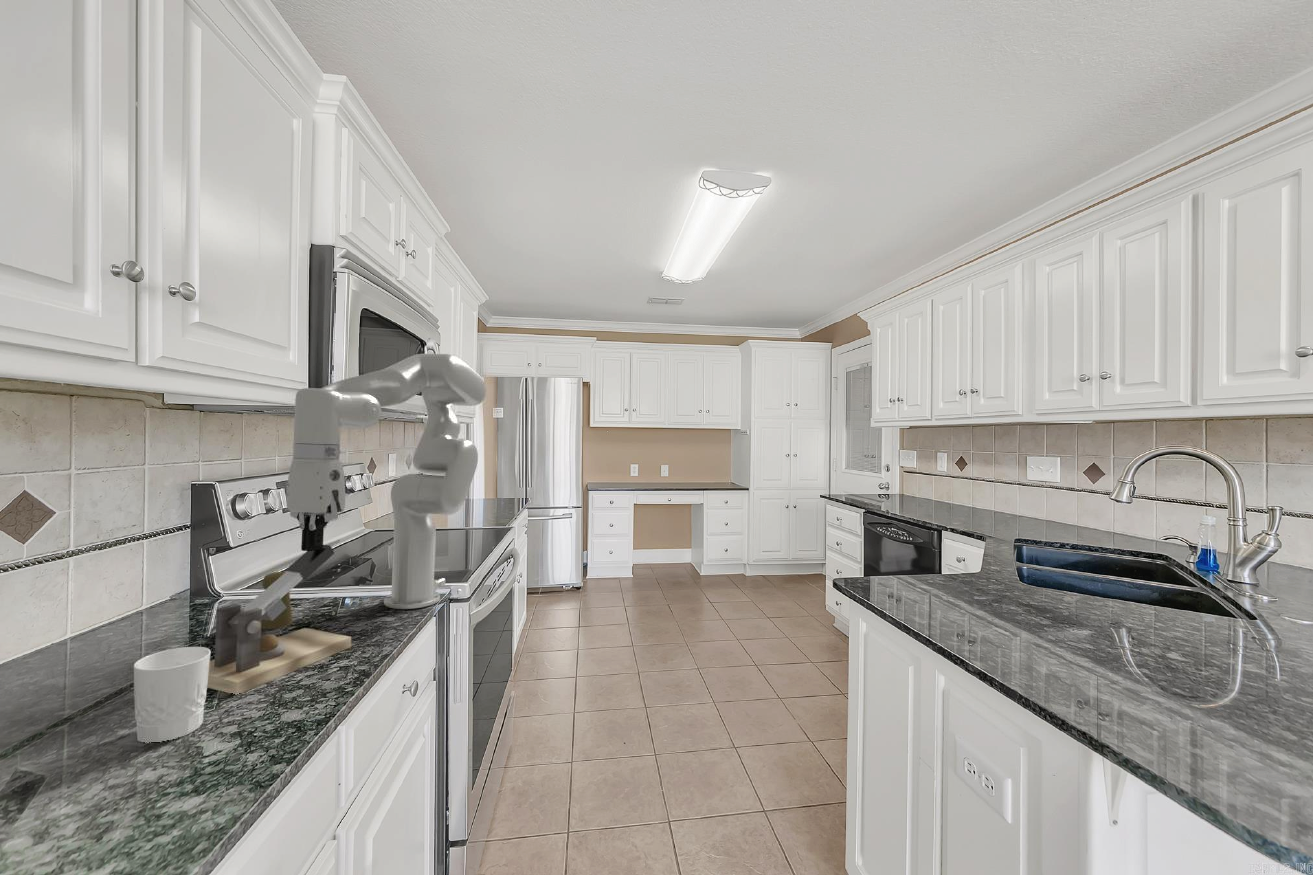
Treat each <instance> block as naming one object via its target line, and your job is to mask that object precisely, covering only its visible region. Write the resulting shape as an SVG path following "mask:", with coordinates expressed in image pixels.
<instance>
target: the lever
mask: <svg viewBox="0 0 1313 875" xmlns="http://www.w3.org/2000/svg"><path fill="white" fill-rule="evenodd" d="M334 554H335V552H334V550H333V548H332V546H331V545H329V544H323V548H322V549H320V550H315V551H310V552H309V551H305V553H303V554H302V555H301V556H300V557H299V558H297V559H296V560H295V561H294V562H293V563H292V564H290V565H289V566H288V567H287V568H285V569H286V571H284V572H285V573H284V574H283V575H282V576H281V577H280V578H278V579H277V580H276V581H275V582H274V583H273V584H271V585H270V586H269V587H268V588H267V589H266V590H265V589H264V590H263V591H262V592H261V593H260V594H259V595H258V596H256V597H255V598H254V599H253V600H252V601H250V602H249V603H248V604H246V606H244V607H243V608H241V611H240V612H239V613H241V612H245V611H248V610H252V609H255V608H259V609H262V619H265V620H270V621H273V620H274V619H275V618H276V617H277V616H278V615H279V614H280V613H281V612H283V611H284V610H285V609H286V608H287V607H286V606H285V605H284V603H283V602H282V600H281V598H282V597H283V596H284V595H286V594H287V593H288V592H289V593H290V591H292V589H294V587H296V586H297V585H298V584H299V583H300V582H301V581H302V580H306V579H308V578H309V577H310V576H311V575H312V574H313V573H314V572H316V571H317V570H318V569H319V568H320V567H321V566H322V565H324V563H326V562H327V561H328V559H330V558H331V557H332V556H334ZM228 624H229V625H230V626H231V627H232V628H234V629H237V628H238V614H236V615H235V616H234V617H233V618H232V619H230V620H229V621H228Z"/></svg>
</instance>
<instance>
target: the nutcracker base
mask: <svg viewBox="0 0 1313 875" xmlns="http://www.w3.org/2000/svg"><path fill="white" fill-rule="evenodd" d="M241 610H242V605H241V604H237V603H235V604H231V605H229V606H224V607H219V608H216V618H215V619H216V621H215V622H216V623H215V640H214V641H215V646H214V659H212V660H211V659H210V665H209V675H208V686H207V689H212V690H216V691H218V692H219V691H220V692H224V693H228V694H231V693H233V694H232V695H234V694H235V696H238V695H240V694H239V693H241V694H242V693H245V692H248V691H249V690H251V689H252V690H253V689H255V688H257V687H259V686H262V685H264V684H266V683H270V682H271V681H274V680H276V679H278V678H280V677H283V676H285V675H288V674H290V673H293V672H295V671H297V670H300V669H302V668H304V667H307V666H309V665H312V664H315V663H317V662H319V661H321V660H324V659H326V658H328V657H331V656H334V655H335V654H338V653H340V652H343V651H345V650H347V649H350V648H351V647H352V636H348V635H344V634H338V633H334V632H329V631H324V630H319V629H318V630H317V629H314V628H313V629H312V628H307V627H304V628H301V629H297V630H295V631H293V632H292V631H291V632H289V633H286V634H283V635H281V636H276V635H274V634H272V633H271V634H265V635H263V636H262V629H261V620H262V609H259V608H255V609H252V610H248V611H245V612H241V613H239V612H240V611H241ZM236 614H238V628H237V629H234V628H232V627H231V626H230V625H229V624H228V621H229V620H230V619H232V618H233V617H234V616H235V615H236ZM237 694H238V695H237Z"/></svg>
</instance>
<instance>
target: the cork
mask: <svg viewBox="0 0 1313 875" xmlns="http://www.w3.org/2000/svg"><path fill="white" fill-rule="evenodd" d="M285 572H286V571H276V572H271V573H268V574H266V575H264V577H263V579H262V588H263V589H264V590H266V589H267V588H268V587H269V586H270V585H271V584H273V583H274V582H275V581H276V580H277V579H278V578H280V577H281V576H282V575H283V574H284V573H285ZM281 600H282V602H283V603H284V605H285V606H286V607H287V608H286V609H285V610H284V611H283V612H281V613H280V614H279V615H278V616H277V617H276V618H275V619H274V620H273V621H270V620H265V619H262V620H261V630H266V629H269V630H276V629H277V628H278V629H281V628H280V627H283V628H286V627H289V626H291V625H292V624H293V622H294V621H293V613H292V605H291V594H290V591H289V592H288V593H287V594H286V595H284V596H283V597H282V598H281ZM291 623H292V624H291ZM290 624H291V625H290ZM288 625H289V626H288ZM285 626H286V627H285ZM278 629H277V630H278Z"/></svg>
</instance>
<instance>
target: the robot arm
mask: <svg viewBox="0 0 1313 875" xmlns="http://www.w3.org/2000/svg"><path fill="white" fill-rule="evenodd" d="M420 393H421V395H422V398H423V401H424V405H425V407H426V413H427V422H426V424H425V427H424V430H423V432H422V434H421V437H420V439H419V441H418V444H417V446H416V448H415V451H414V453H413V458H412V464H413V467H414V469H416V470H417V471H418V472H419V473H409V474H404V475H401V476H400V477H398V478H397V479H396V480H395V481H394V482H393V484H392V486H391V488H390V500H391V506H392V507H391V508H392V512H393V546H392V547H393V550H392V551H393V552H392V571H391V572H392V574H391V575H392V576H391V594H388V595H386V597H385V598H384V599H383V605H384V606H385V607H387V608H390V609H396V610H412V609H420V608H425V607H429V606H433V605H435V604H437V603H438V602H439V601H440V600H441V599H440V598H441V594H440V593H439V592H437V591H436V590H437V589H438V588H440V587H442V586H445V584H446V583H447V582H446V578H443V577H442V578H439V579H435V561H436V560H435V559H436V542H437V541H436V539H437V537H436V536H437V534H436V533H437V530H436V526H435V522H434V521H433V518H432V516H431V515H443V516H449V515H450V516H451V515H454V514H455V515H456V514H457V513H459V511H460V510H461V509H462V508H463V505H464V503H465V501H466V499H467V496H468V494H469V490H470V487H471V484H472V481H473V479H474V476H475V472H476V470H477V467H478V462H479V453H478V449H477V446H476V445H475V444H474V442H473V441H471V440H468V439H466V438H459V435H460V432H461V423H460V420H459V418H458V416H457V414H456V413H455V411H454V410H453V408H452V406H465V407H467V406H469V407H474V406H478V405H480V404H481V403H482V402H483V401H484V400H485V398H486V395H487V388H486V383H485V381H484V378H482V376H481V375H480V374H479V373H478V372H476V371H475V370H474V369H473V368H472V367H471V366H469V365H468V364H467V363H466V362H465V361H463V360H461V359H460V358H458V357H457V356H455V355H452V354H448V353H418V354H413V355H411V356H409V357H406V358H405V359H402V360H400V361H398V362H395V363H394V364H392V365H389V366H388V367H385V368H383V369H381V370H376V371H371V372H368V373H364V374H361V375H357V376H352V377H347V378H345V379H344V378H343V379H341V380H338V381H335V382H333V383H330V384H328V385H326V386H323V387H321V388H316V387H315V388H313V387H305V388H300V389H299V390H298V391H297V392H296V394H295V400H294V420H293V421H294V423H293V424H294V425H293V426H294V427H293V441H292V442H293V444H292V448H293V449H292V460H291V464H290V467H289V472H288V479H287V486H286V507H287V510H288V511H290V512H289V516H290V517H291V518H294V519H297V521H298V523H299V529H300V530H301V545H300V546H301V547H300V548H301V551H303V552H307V551H309V552H310V551H315V550H320V549H322V548H323V545H324V532H325V529H326V528H327V526H328V524H329V522H333V521H337V520H338V519H339V514H338V513H341V512H343V511H345V508H346V480H345V473H344V472H345V470H344V466H343V461H340V455H341V445H340V444H341V430H342V429H349V430H351V429H353V430H354V429H355V430H362V429H363V430H364V429H368V428H371V427H372V426H375V425H376V424H377V423H378V422H379V420H380V418H381V416H382V407H383V408H385V407H391V406H395V405H397V406H398V405H400V404H403V403H405V402H407V401H408V400H410V399H412V398H413V397H415V396H416V395H418V394H420ZM422 473H423V474H422Z"/></svg>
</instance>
